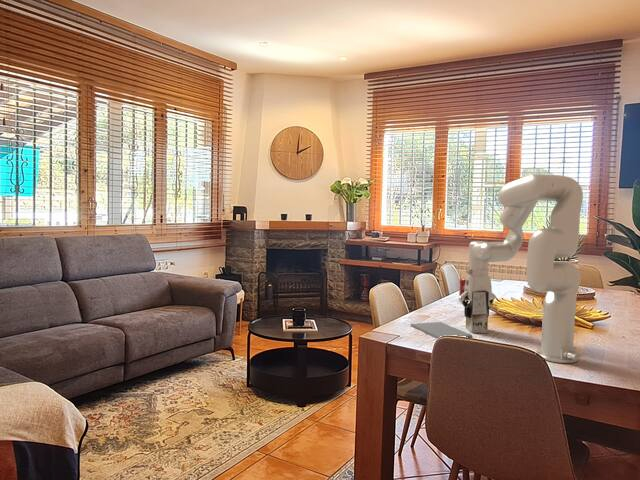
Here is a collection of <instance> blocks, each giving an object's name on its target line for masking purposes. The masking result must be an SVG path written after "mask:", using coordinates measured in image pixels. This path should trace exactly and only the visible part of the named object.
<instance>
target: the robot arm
mask: <svg viewBox="0 0 640 480" xmlns="http://www.w3.org/2000/svg"><path fill="white" fill-rule="evenodd" d="M583 199H584V192H583V189H582V186H581V185H580V183H579V182H578V181H576V179H574V178H572V177H570V176H566V175H561V174H560V175H559V174H542V173H541V174H540V173H539V174H537V173H535V174H531V175H528V176H523V177H521V178H517V179H515V180H511V181H509V182H507V183H506V184H504V185H503V186H502V187H501V189H499V193H498V202H499V204H500V205H501V206H503V207H504V209H503V210H502V213H501V214H500V215H499V221H500V223H501V225H502V226H504V227H505V228H507V229H508V230H509V231H508V233H507V236H506V237H505V239H504V240H503V241H489V242H488V241H484V240H482V241H481V240H474V241H473V240H471V241H470V243H469V245H468V268H467V269H466V271H465V273H466V274H467V275H466V277H465V278H466V282H465V290H464V293H463V294H461V295H460V296H458V301H459V300H460V301H461V302H460V301H459V302H460V303H461V304H462V306H463V307H464V314H463V315H464V317H465V318H466V317H468V318H470V317H471V308H470V306H471V302H472V298H473V297H472V295H473V292H478V291H488V292H489V302H488V318H489V316H490V307H491V306H492V304H493V302H494V300H495V299H496V298H497V296H496V294H494V293H493V289H492V280H491V276H490V275H489V263H496V262H508V261H511V260H512V259H513V258H514V257H515V256H516V254H517V253H518V252H519V249H520V248H521V247H522V244H523V241H524V240H523V239H524V231H523V226H524V225H525V223H526V221H527V220H528V218H529V217H530V214H531V213H532V211H534V208H535V207H536V205H537V203H538V202H542V201H543V202H556V203H555V205H554V206H553V209H552V210H551V214H550V222H549V227H548V228H547V227H546V228H538V229H537V230H536V231H534V232H533V233H532V234H531V236H530V238H529V241H528V244H527V245H528V246H527V256H526V270H525V271H526V273H525V274H526V282H527V285H528V286H529V288H530V289H531V290H532V291H534V292H537V293H546V294H545V296H544V299H543V304H542V305H543V306H542V324H541V340H540V342H541V343H540V348H539V349H537V350H535V353H536V352H537V353H538V354H540V355H541V356H542V357H543V358H544V359H545V360H544V359H543V360H544V361H546V362H547V361H548V362H551V363H560V364H573V363H577V362H578V361H579V359H581V358H582V354H581V353H579V352H576V350H577V348H576V346H574V342H575V339H574V338H575V323H576V322H575V321H576V305H577V297H578V293H579V289H580V284H581V280H582V278H581V272H580V269H578V267H577V266H576V265H575V264H573V263H572V262H568V261H555V259H561V258H569V257H572V256H574V255H575V254H577V251H578V246H579V237H580V235H579V234H580V224H581V223H580V221H581V211H582V206H583ZM464 298H465V300H466V301H465V300H464Z"/></svg>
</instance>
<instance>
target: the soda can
mask: <svg viewBox="0 0 640 480" xmlns="http://www.w3.org/2000/svg"><path fill="white" fill-rule="evenodd" d="M466 278H467V277H460V279H459V289H458V290H459V291H458V292H459V293H458V294H459V296H460V295H461V294H463V293H464V290H465V282H466ZM459 296H458V297H459ZM464 300H465V298H464ZM458 301H459V302H460V303H461V301H460V300H459V299H458ZM465 301H466V300H465Z"/></svg>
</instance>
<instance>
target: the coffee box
mask: <svg viewBox="0 0 640 480" xmlns="http://www.w3.org/2000/svg"><path fill="white" fill-rule="evenodd" d="M472 297H473V298H472V302H471V306H470V308H471V317H470V318H468V317H465V329H467V330H468V331H470V332H471V334H472V333H475V334H476V333H477V334H479V333H481V334H488V327H489V326H488V324H489V323H488V322H489V317H488V302H489V292H488V291H478V292H473V295H472Z"/></svg>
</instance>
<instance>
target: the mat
mask: <svg viewBox="0 0 640 480" xmlns="http://www.w3.org/2000/svg"><path fill="white" fill-rule="evenodd" d="M410 327H412V328H414V329H416V330H418V331H421V332H422V333H424V334H426V335H429V336H431V337H433V338H435V339H437V338H439V337H440V336H444V335H457V336H466V337H471V338H473V335H472V334H470V333H468V332H465V331H463V330H460V329H458V328H455V327H453V326H451V325H448V324H446V323H443V322H442V321H435V322H420V323H410Z"/></svg>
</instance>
